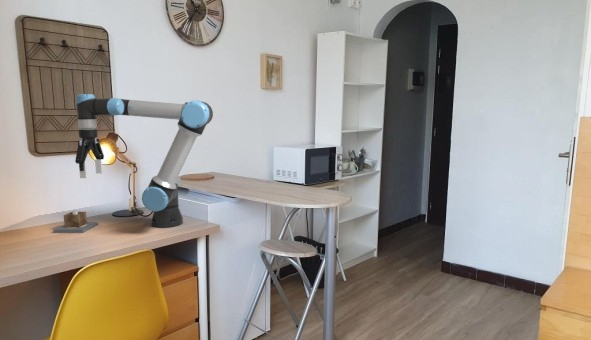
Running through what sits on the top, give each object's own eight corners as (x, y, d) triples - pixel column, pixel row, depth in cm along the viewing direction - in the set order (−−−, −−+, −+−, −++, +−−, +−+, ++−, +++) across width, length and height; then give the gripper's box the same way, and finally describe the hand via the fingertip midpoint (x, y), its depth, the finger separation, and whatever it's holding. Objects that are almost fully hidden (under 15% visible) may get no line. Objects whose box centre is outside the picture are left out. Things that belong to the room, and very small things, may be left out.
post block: (98, 224, 214) (96, 208, 213) (82, 232, 200) (81, 215, 199) (70, 224, 215) (69, 208, 214) (53, 232, 201) (51, 215, 200)
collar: (87, 223, 211) (85, 211, 210) (79, 227, 204) (78, 215, 203) (73, 223, 211) (72, 211, 210) (64, 227, 204) (63, 215, 203)
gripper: (94, 127, 207) (97, 171, 210) (63, 130, 182) (67, 180, 185) (109, 127, 206) (112, 171, 209) (80, 130, 182) (84, 180, 185)
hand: (91, 175), depth 197 cm, fingers open, 13 cm apart
